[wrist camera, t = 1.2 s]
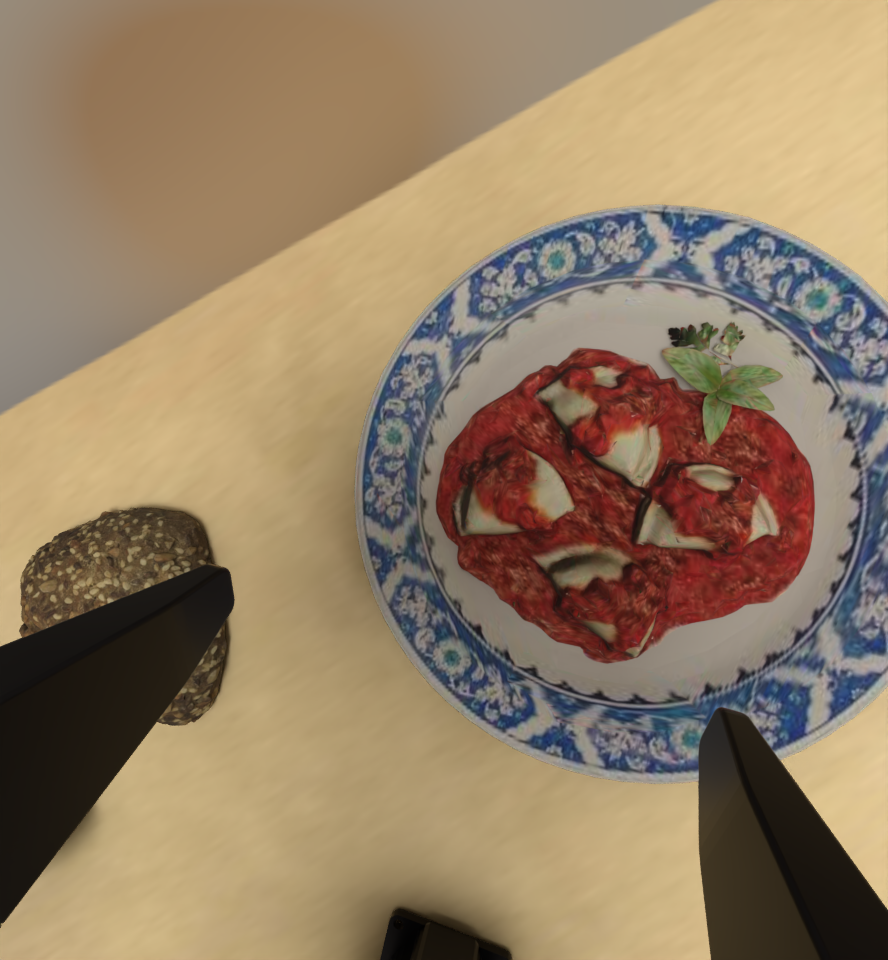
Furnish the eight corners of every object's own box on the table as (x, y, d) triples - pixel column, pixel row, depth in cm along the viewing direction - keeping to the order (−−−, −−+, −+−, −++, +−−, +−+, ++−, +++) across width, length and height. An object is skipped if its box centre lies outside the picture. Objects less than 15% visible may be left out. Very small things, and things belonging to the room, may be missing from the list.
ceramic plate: (578, 856, 26) (583, 904, 23) (276, 456, 29) (246, 455, 26) (1067, 545, 22) (1147, 557, 19) (668, 111, 25) (684, 64, 22)
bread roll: (226, 502, 30) (164, 509, 25) (240, 721, 30) (180, 770, 25) (36, 512, 32) (-56, 520, 27) (49, 714, 32) (-40, 759, 27)
